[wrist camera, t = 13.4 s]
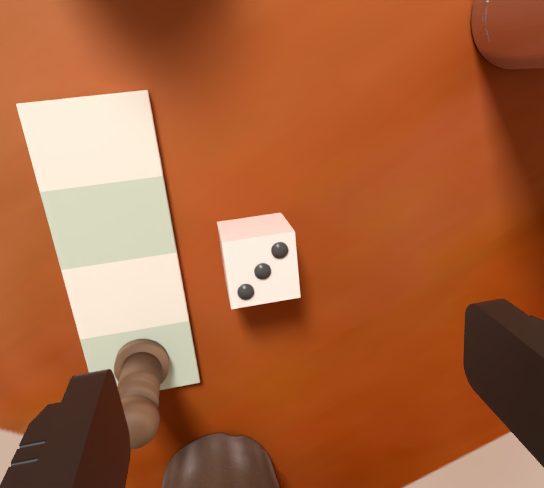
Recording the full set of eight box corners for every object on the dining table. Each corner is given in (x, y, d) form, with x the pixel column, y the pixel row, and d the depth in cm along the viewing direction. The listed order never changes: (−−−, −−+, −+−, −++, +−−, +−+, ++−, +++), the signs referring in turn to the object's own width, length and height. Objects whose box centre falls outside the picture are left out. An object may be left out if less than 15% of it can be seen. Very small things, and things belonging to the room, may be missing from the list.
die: (280, 212, 44) (295, 231, 38) (286, 271, 46) (300, 298, 40) (216, 221, 43) (221, 243, 38) (225, 281, 45) (231, 310, 40)
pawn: (164, 334, 45) (159, 405, 35) (173, 378, 47) (170, 458, 37) (110, 343, 44) (89, 418, 34) (121, 388, 46) (104, 471, 36)
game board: (148, 89, 39) (147, 89, 38) (199, 376, 48) (199, 382, 47) (20, 103, 37) (16, 103, 36) (98, 395, 47) (97, 402, 46)
